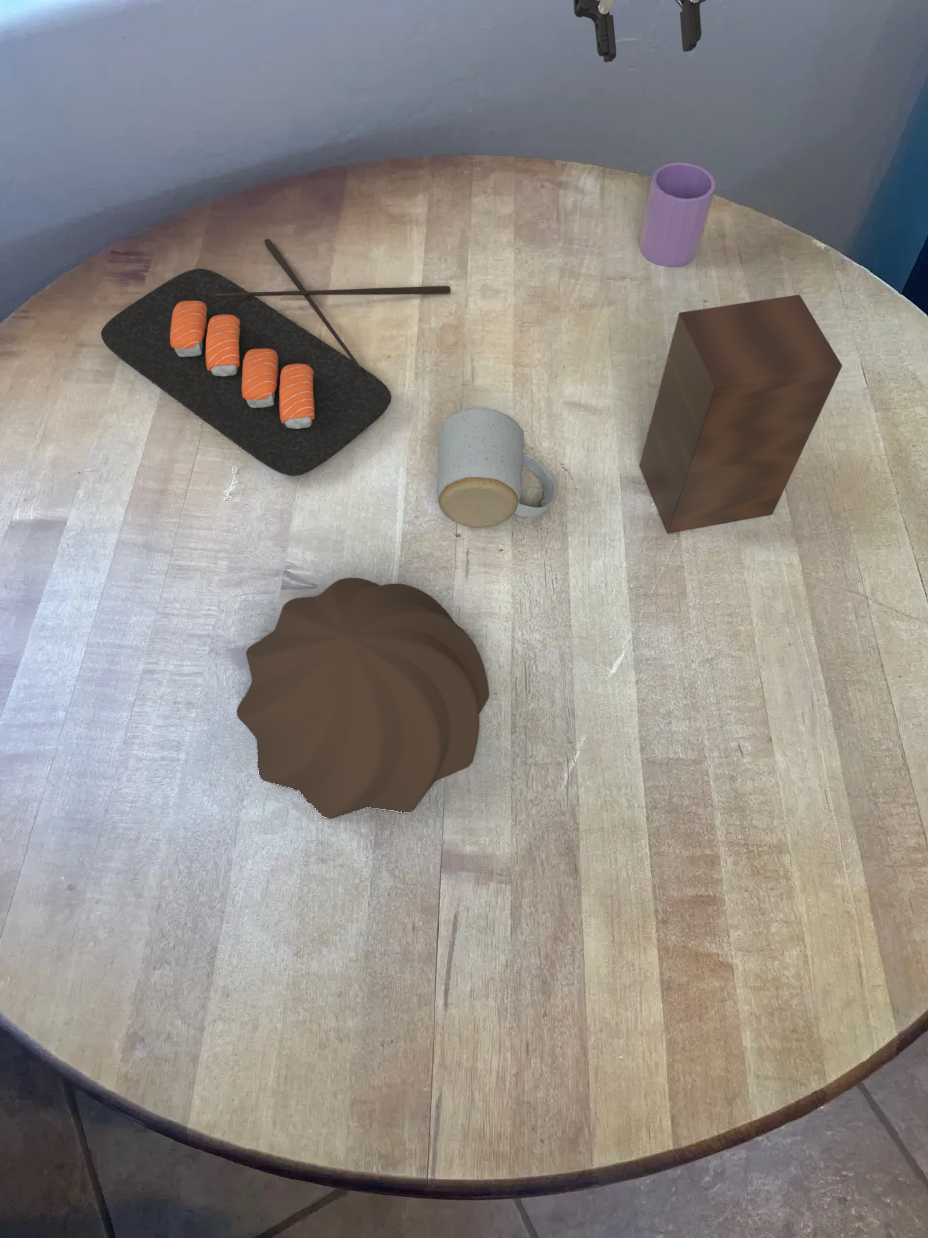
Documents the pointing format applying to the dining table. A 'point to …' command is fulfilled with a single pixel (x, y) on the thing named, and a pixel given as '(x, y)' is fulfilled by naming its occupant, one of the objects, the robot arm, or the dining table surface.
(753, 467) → the block
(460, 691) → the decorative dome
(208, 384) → the sushi plate
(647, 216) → the tumbler
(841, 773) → the dining table surface
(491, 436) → the ceramic mug
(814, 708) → the dining table surface
